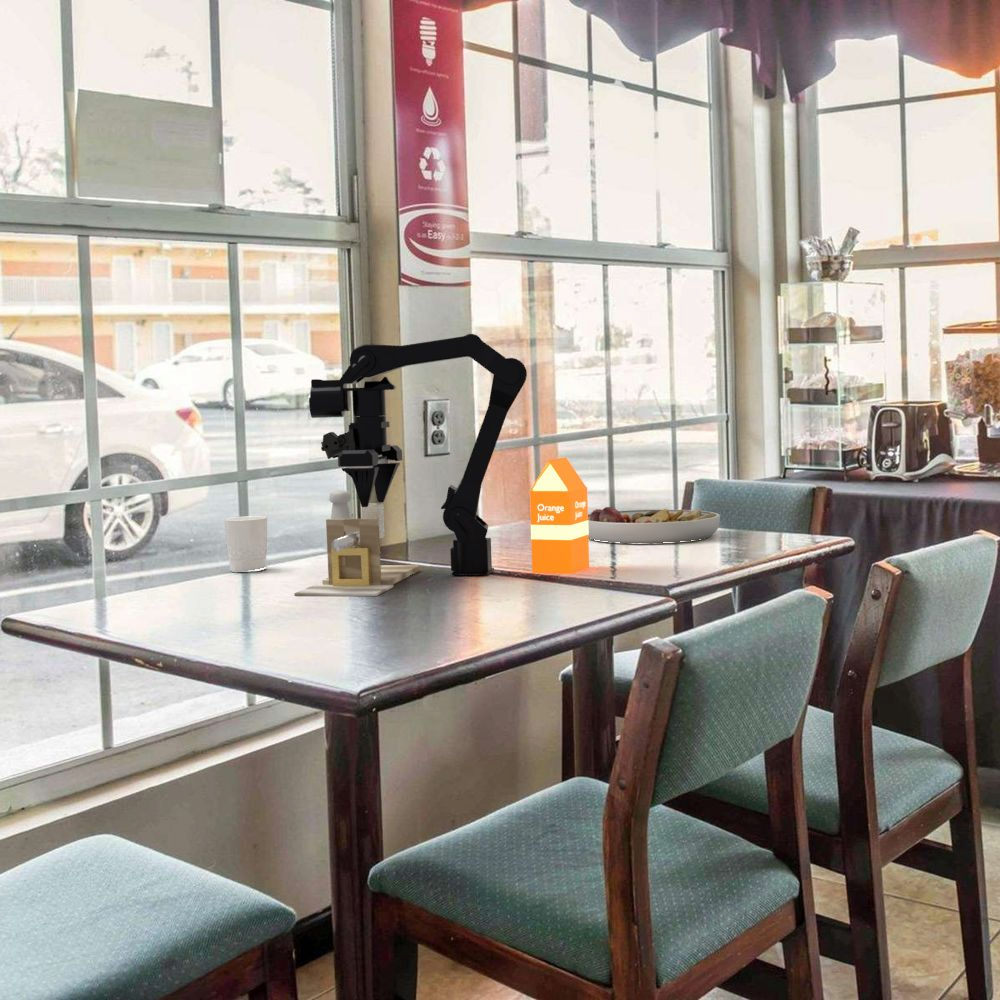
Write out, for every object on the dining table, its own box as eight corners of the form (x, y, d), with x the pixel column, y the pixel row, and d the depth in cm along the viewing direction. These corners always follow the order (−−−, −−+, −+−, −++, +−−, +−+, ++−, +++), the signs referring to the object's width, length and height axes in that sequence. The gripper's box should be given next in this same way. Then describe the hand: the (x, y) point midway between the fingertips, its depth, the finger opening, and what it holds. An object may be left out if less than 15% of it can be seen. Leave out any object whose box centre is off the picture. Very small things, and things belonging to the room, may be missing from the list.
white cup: (277, 568, 246) (274, 515, 245) (256, 573, 239) (253, 520, 238) (240, 567, 249) (238, 515, 248) (219, 573, 241) (216, 520, 241)
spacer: (335, 584, 218) (334, 547, 218) (371, 584, 217) (370, 547, 216) (332, 586, 217) (331, 548, 216) (369, 586, 215) (367, 548, 215)
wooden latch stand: (352, 570, 238) (349, 509, 237) (425, 570, 235) (422, 508, 234) (294, 595, 210) (291, 525, 209) (376, 595, 207) (373, 524, 206)
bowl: (643, 528, 298) (642, 494, 298) (748, 536, 276) (748, 499, 276) (551, 541, 278) (550, 505, 278) (656, 550, 256) (655, 511, 255)
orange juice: (590, 567, 233) (587, 456, 232) (572, 574, 225) (568, 459, 224) (550, 566, 237) (547, 457, 235) (531, 572, 229) (527, 460, 227)
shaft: (368, 536, 231) (367, 503, 230) (384, 536, 230) (383, 503, 230) (328, 551, 210) (327, 514, 210) (346, 551, 210) (344, 514, 209)
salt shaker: (351, 555, 263) (348, 491, 261) (324, 555, 264) (321, 492, 263) (359, 551, 268) (357, 489, 267) (333, 551, 269) (331, 489, 268)
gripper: (343, 416, 238) (346, 500, 239) (307, 418, 220) (311, 509, 221) (401, 414, 236) (404, 499, 237) (369, 417, 217) (373, 509, 219)
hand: (372, 504), depth 228 cm, fingers open, 9 cm apart
